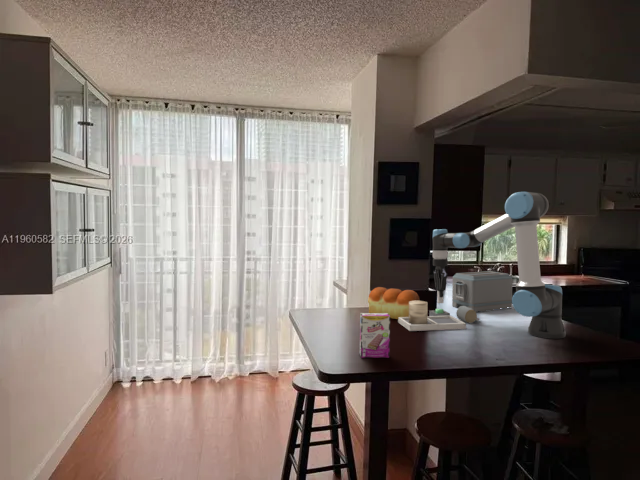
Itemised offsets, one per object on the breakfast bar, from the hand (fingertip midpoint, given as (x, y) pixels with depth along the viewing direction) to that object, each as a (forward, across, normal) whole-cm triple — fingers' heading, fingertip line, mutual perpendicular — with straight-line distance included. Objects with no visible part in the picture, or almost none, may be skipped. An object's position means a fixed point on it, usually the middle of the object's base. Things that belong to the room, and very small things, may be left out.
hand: (440, 302), depth 229 cm
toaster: (+9, +24, -35) cm, 43 cm away
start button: (+8, +1, 0) cm, 8 cm away
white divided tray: (+9, -13, +11) cm, 19 cm away
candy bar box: (+9, -56, +51) cm, 76 cm away
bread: (+8, +10, +22) cm, 26 cm away
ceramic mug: (+9, -8, -12) cm, 17 cm away
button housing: (+8, +1, 0) cm, 8 cm away
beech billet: (+7, -13, +18) cm, 23 cm away
